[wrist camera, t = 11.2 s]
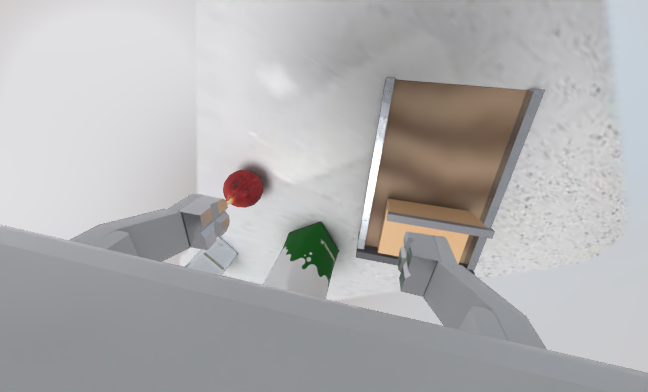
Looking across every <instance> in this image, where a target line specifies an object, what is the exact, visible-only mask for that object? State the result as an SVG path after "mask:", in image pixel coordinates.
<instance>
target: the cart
mask: <svg viewBox="0 0 648 392" xmlns="http://www.w3.org/2000/svg"><path fill="white" fill-rule="evenodd" d="M406 231H408V232H414V233H421V234H427V235H435V236H442V237H445V238H447V240H448V243H449V245H450V247H451V250H452V252H453V254H454V256H455V259H456V261H457V263H458V264H459V262H460V259H461V256H462V253H463V250H464V248H465V245H466V242H467V239H468V236H469V235H474V236H480V237H486V238H492V237H493V235H494V232H495V231H494V230H493V229H492V228H488V227H487V226H486V225H484V224H483V223H482V222H481V221H480V220H479V219H478V218H477V217H476V216H475V215H474V214H473V213H472V212H471V211H465V210H459V209H452V208H446V207H440V206H433V205H427V204H420V203H414V202H407V201H401V200H394V199H387V204H386V209H385V214H384V219H383V223H382V228H381V233H380V238H379V243H378V253H382V254H388V255H393V256H398V257H399V252H400V248H401V247H402V246H404V241H403V238H404V235H405V233H406Z"/></svg>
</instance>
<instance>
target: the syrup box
mask: <svg viewBox="0 0 648 392" xmlns="http://www.w3.org/2000/svg"><path fill="white" fill-rule="evenodd" d="M236 255H237V252H236V251H235V250H234V249H233V248H232V247H230V246H229V245H228V244H227V243H226V242H225V241H224V240H223V239H221V238H220V237H219V236H218V237H217V241H216V242H215V243H214V244H213V245H212V246H211V247H210V248H209V249H208V250H204V249H202V250H201V251H200V252H199V253H198V254H197V255H196V256H195V257H194V258H193V259H192V260H191V261H190V262H189V263H188V264H187V265H186V266H185V267H187V268H191V269H195V270H200V271H204V272H208V273H213V274H217V275H222V274H223V272H224V271H225V270H226V268H227V267H228V266H229V265H230V263H231V262H232V261H233V259H234V258H235V257H236Z"/></svg>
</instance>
